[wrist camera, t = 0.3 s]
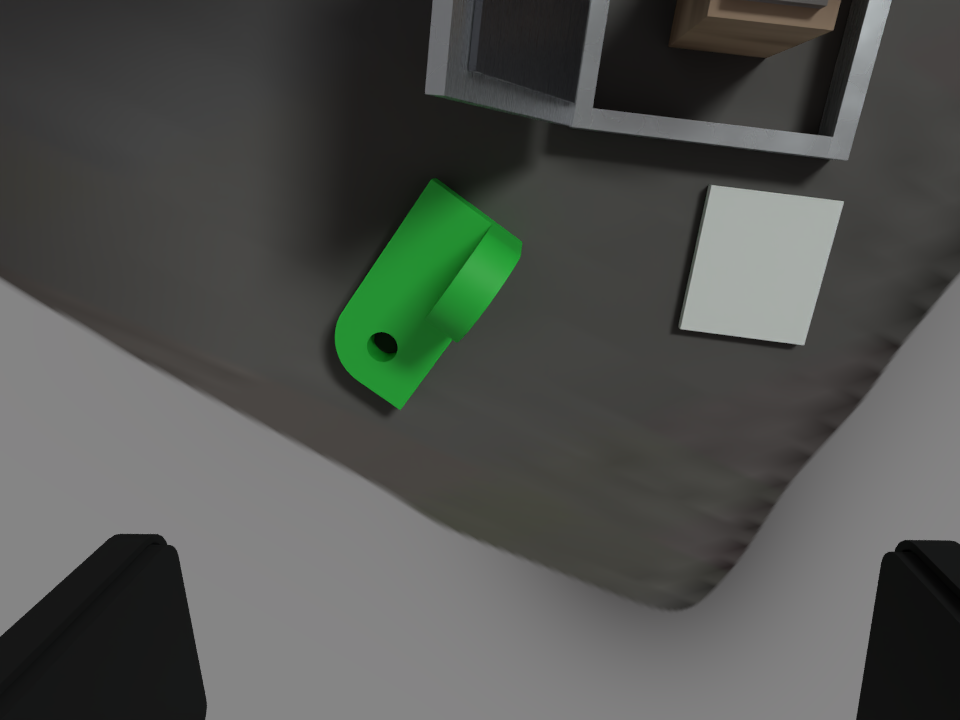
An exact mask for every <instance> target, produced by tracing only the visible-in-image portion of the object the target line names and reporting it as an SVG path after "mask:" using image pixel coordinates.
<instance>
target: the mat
mask: <svg viewBox="0 0 960 720" xmlns="http://www.w3.org/2000/svg"><path fill="white" fill-rule="evenodd" d="M843 203H844V201H837V200H829V199H820V198H812V197H804V196H796V195H788V194H780V193H772V192H764V191H756V190H748V189H739V188H731V187H723V186H715V185H709V186H708V190H707V195H706V199H705V204H704V209H703V213H702V218H701V223H700V227H699V232H698V237H697V241H696V246H695V251H694V255H693V260H692V264H691V269H690V274H689V278H688V283H687V288H686V292H685V297H684V302H683V306H682V311H681V315H680V320H679V325H678V327H679V328H680V329H684V330H691V331H699V332H707V333H714V334H722V335H730V336H737V337H745V338H752V339H760V340H768V341H775V342H783V343H790V344H798V345H804V344H805V340H806V336H807V333H808V329H809V326H810V322H811V318H812V315H813V311H814V308H815V304H816V300H817V297H818V293H819V290H820V286H821V282H822V279H823V275H824V272H825V268H826V264H827V261H828V257H829V254H830V250H831V246H832V243H833V239H834V236H835V232H836V228H837V225H838V221H839V218H840V214H841V211H842V207H843Z"/></svg>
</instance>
